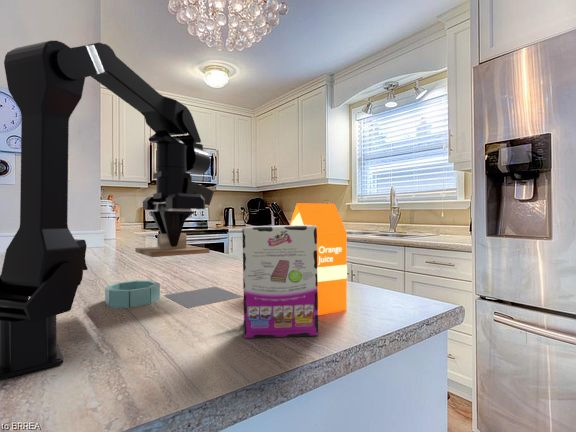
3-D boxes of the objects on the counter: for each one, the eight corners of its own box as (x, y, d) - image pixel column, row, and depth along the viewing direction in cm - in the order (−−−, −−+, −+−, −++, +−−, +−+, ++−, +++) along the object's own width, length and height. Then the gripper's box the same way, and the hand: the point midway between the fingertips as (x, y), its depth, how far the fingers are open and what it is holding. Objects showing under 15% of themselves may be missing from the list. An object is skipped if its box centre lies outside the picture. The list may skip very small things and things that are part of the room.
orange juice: (286, 306, 64) (286, 203, 64) (324, 300, 68) (324, 204, 68) (307, 317, 57) (306, 202, 57) (347, 310, 61) (347, 203, 61)
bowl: (165, 306, 64) (164, 285, 64) (113, 316, 58) (113, 293, 58) (149, 296, 71) (149, 278, 71) (101, 304, 65) (101, 284, 65)
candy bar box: (314, 325, 54) (313, 224, 53) (319, 336, 49) (318, 225, 48) (244, 327, 53) (244, 224, 53) (242, 339, 48) (242, 226, 48)
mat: (243, 301, 68) (243, 296, 68) (187, 313, 60) (187, 308, 60) (215, 290, 77) (215, 286, 77) (163, 300, 69) (163, 295, 69)
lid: (209, 252, 66) (209, 233, 66) (152, 257, 59) (152, 235, 59) (187, 248, 74) (187, 231, 74) (135, 251, 67) (135, 233, 67)
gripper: (230, 167, 64) (230, 247, 64) (191, 175, 79) (191, 241, 79) (173, 160, 57) (173, 250, 57) (142, 171, 72) (141, 243, 72)
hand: (171, 245), depth 66 cm, fingers closed on lid, 2 cm apart
